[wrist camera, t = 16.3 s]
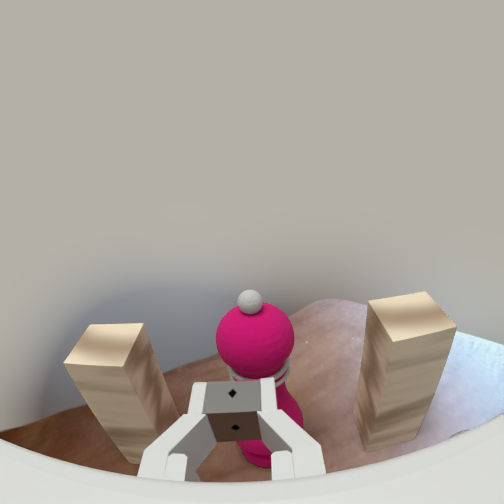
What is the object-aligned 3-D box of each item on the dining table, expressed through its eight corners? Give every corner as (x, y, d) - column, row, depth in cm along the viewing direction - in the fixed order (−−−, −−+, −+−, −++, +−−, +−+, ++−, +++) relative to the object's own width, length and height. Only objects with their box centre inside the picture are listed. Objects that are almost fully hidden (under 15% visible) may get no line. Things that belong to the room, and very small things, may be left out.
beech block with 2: (414, 438, 26) (456, 326, 20) (364, 452, 26) (393, 341, 20) (397, 401, 31) (423, 290, 26) (352, 411, 32) (367, 299, 26)
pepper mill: (227, 462, 27) (178, 312, 20) (251, 416, 33) (224, 266, 26) (292, 477, 25) (284, 327, 17) (310, 426, 31) (309, 271, 23)
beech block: (178, 467, 27) (122, 366, 21) (129, 462, 27) (63, 363, 21) (185, 426, 32) (144, 321, 26) (141, 424, 33) (91, 323, 27)
